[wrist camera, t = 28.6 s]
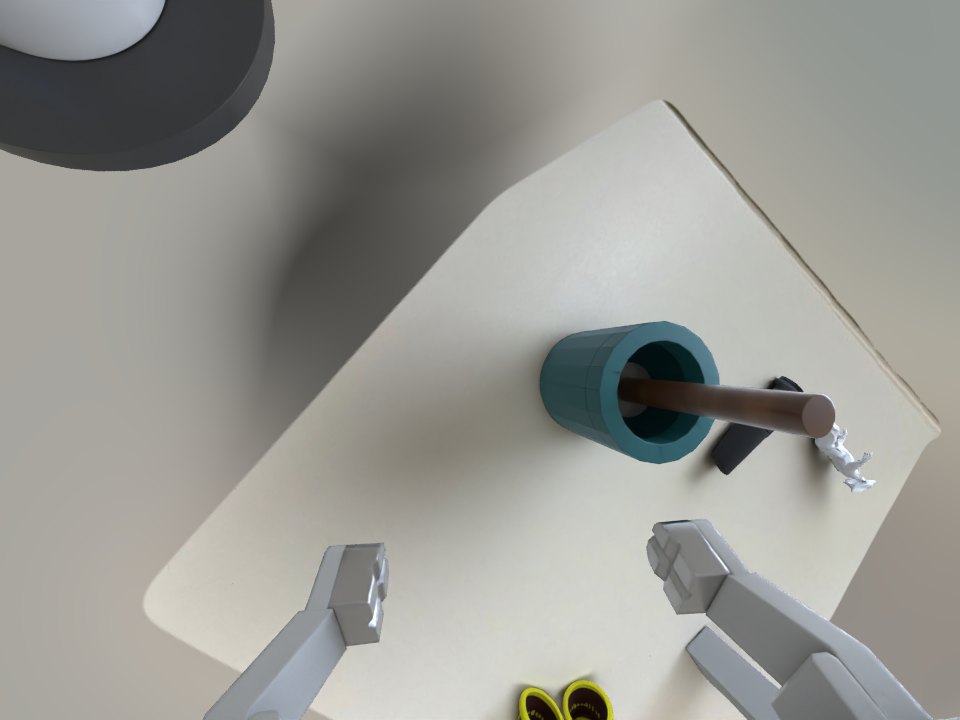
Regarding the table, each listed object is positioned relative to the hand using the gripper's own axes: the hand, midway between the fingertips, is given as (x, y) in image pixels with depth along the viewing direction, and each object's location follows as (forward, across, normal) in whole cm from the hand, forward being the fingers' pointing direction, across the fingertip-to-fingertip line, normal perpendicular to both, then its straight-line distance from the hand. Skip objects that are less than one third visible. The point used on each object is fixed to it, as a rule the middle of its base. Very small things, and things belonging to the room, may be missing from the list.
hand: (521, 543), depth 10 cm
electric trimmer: (+25, -34, +17) cm, 46 cm away
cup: (+24, -12, +9) cm, 29 cm away
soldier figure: (+25, -46, +20) cm, 56 cm away
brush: (+23, -13, +9) cm, 28 cm away
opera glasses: (+8, -7, +40) cm, 41 cm away
